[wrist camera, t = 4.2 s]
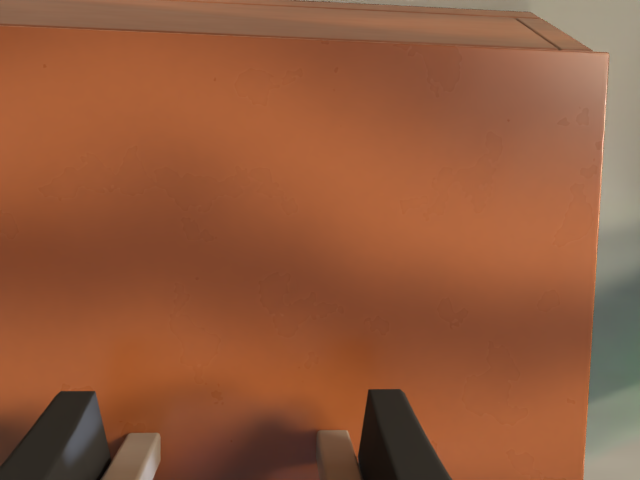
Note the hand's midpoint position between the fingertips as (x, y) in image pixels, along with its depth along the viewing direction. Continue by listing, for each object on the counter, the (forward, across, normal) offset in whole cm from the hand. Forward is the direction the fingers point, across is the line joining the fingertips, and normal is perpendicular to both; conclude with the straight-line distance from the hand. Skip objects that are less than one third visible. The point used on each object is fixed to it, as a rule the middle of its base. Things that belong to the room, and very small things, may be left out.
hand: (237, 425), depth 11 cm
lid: (+3, 0, -1) cm, 3 cm away
